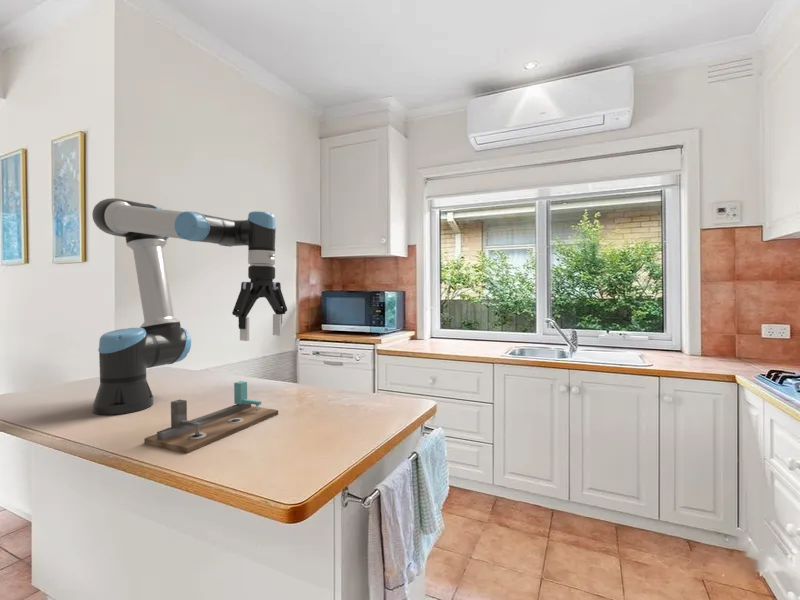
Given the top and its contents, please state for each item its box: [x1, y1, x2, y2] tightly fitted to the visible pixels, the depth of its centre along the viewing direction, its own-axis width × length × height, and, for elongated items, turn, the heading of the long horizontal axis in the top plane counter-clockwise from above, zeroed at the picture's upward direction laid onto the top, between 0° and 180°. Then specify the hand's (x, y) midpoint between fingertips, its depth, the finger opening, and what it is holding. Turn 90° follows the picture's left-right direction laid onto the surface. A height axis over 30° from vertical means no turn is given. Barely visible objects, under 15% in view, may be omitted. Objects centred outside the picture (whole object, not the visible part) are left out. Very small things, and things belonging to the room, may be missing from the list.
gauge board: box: [143, 399, 279, 454], centre depth 107 cm, size 14×30×9 cm, turn 157°
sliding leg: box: [233, 380, 262, 411], centre depth 118 cm, size 8×2×7 cm, turn 67°
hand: (261, 337), depth 123 cm, fingers open, 13 cm apart
